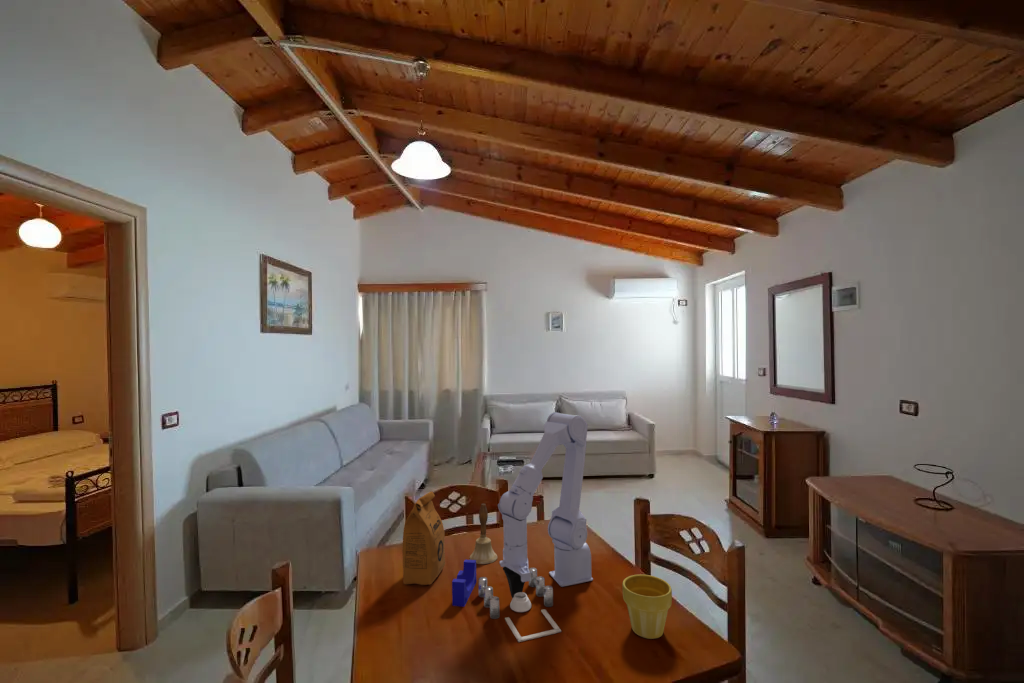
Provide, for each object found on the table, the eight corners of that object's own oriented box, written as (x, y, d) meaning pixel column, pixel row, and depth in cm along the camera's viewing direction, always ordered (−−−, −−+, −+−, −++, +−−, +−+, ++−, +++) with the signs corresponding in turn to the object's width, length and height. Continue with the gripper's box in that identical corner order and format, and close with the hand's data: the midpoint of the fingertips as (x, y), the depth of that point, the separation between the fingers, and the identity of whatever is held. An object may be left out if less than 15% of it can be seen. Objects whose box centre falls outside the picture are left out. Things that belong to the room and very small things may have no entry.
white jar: (530, 601, 115) (510, 602, 115) (530, 589, 115) (510, 590, 115) (531, 613, 110) (510, 613, 110) (531, 600, 110) (509, 601, 110)
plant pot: (652, 612, 110) (651, 570, 110) (683, 637, 100) (682, 591, 100) (614, 622, 106) (613, 578, 106) (642, 649, 96) (641, 601, 97)
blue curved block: (460, 581, 126) (459, 559, 126) (476, 582, 125) (476, 560, 125) (446, 606, 114) (446, 581, 114) (464, 607, 114) (464, 582, 114)
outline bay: (544, 610, 111) (544, 609, 111) (561, 631, 103) (561, 630, 103) (504, 619, 108) (504, 617, 108) (518, 642, 99) (518, 640, 99)
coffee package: (451, 568, 133) (449, 490, 134) (431, 590, 121) (430, 505, 122) (419, 564, 136) (418, 488, 136) (397, 585, 124) (396, 502, 124)
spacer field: (535, 582, 125) (535, 567, 125) (554, 605, 113) (554, 589, 113) (477, 593, 119) (477, 577, 119) (491, 619, 108) (491, 602, 108)
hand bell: (481, 549, 145) (480, 498, 145) (503, 556, 140) (502, 502, 141) (463, 560, 139) (462, 505, 139) (485, 567, 134) (484, 511, 134)
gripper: (491, 533, 121) (492, 586, 121) (509, 557, 107) (510, 616, 107) (517, 529, 123) (518, 581, 123) (538, 552, 109) (539, 610, 109)
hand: (516, 597), depth 115 cm, fingers closed
